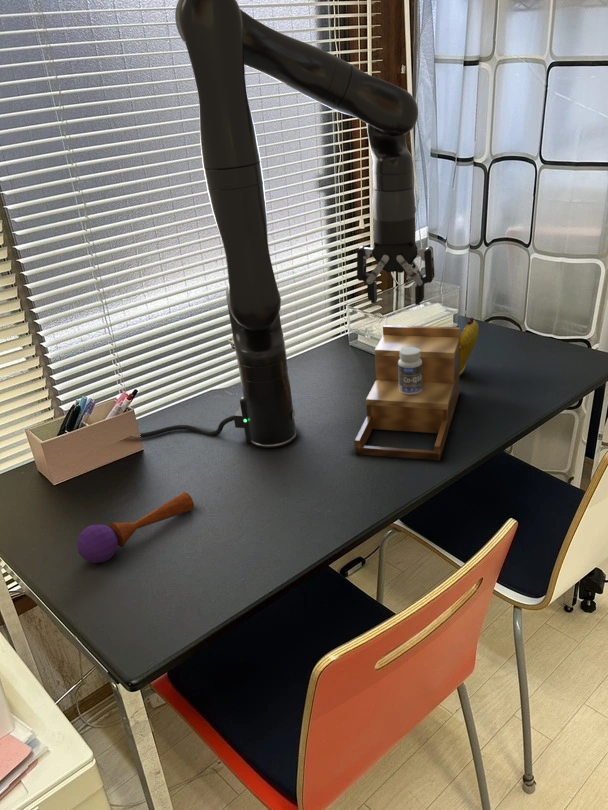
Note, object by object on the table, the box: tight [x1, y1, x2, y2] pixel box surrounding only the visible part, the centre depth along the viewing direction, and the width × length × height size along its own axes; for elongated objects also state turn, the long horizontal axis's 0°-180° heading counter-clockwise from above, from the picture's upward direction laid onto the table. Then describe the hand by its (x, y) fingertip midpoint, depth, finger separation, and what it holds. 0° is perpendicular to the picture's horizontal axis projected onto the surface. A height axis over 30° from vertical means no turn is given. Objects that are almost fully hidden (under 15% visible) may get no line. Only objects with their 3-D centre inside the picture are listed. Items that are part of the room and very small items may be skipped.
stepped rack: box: [354, 324, 461, 461], centre depth 139 cm, size 16×28×15 cm, turn 165°
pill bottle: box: [398, 347, 422, 395], centre depth 138 cm, size 5×5×8 cm
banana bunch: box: [459, 316, 480, 377], centre depth 156 cm, size 12×8×15 cm
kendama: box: [76, 491, 195, 564], centre depth 115 cm, size 6×6×20 cm
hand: (396, 302), depth 134 cm, fingers open, 8 cm apart
